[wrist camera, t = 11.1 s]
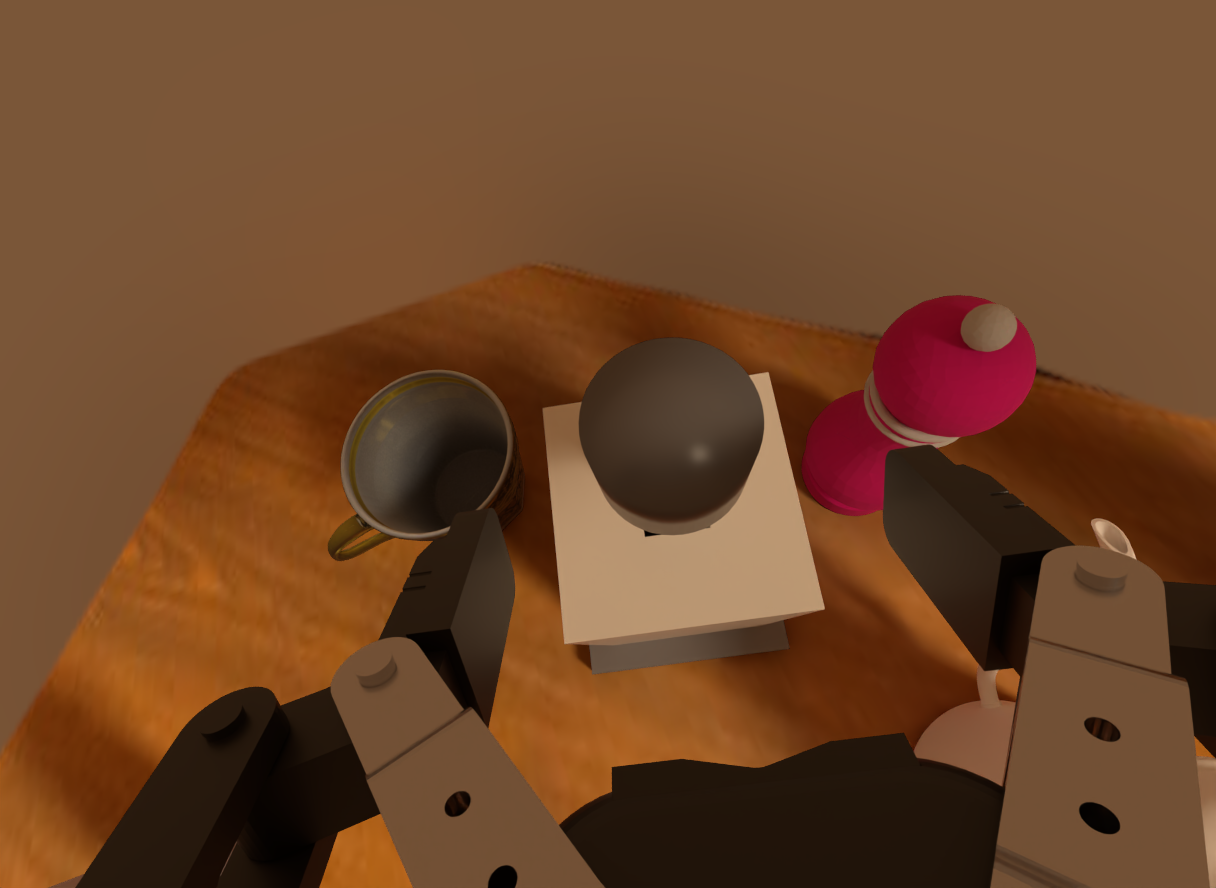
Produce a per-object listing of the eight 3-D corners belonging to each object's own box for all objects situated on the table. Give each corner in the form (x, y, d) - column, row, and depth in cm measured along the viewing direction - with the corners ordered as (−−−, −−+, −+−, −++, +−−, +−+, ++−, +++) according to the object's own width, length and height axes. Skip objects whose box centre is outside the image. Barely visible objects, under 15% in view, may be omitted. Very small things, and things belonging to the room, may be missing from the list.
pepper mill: (798, 414, 42) (898, 223, 23) (907, 428, 41) (1106, 240, 22) (788, 514, 40) (889, 393, 21) (903, 532, 38) (1120, 422, 20)
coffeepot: (1010, 555, 37) (1312, 473, 20) (1212, 1065, 29) (2059, 1726, 11) (837, 586, 38) (979, 533, 20) (986, 1095, 29) (1453, 1773, 12)
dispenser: (743, 452, 41) (792, 310, 24) (785, 648, 37) (882, 649, 20) (574, 478, 42) (501, 358, 25) (595, 673, 38) (525, 695, 20)
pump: (705, 507, 34) (743, 324, 15) (719, 585, 33) (783, 494, 13) (630, 518, 34) (569, 353, 15) (640, 596, 33) (589, 523, 14)
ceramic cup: (488, 402, 45) (438, 337, 35) (578, 491, 42) (550, 446, 32) (354, 524, 43) (264, 490, 33) (439, 627, 40) (366, 621, 30)
